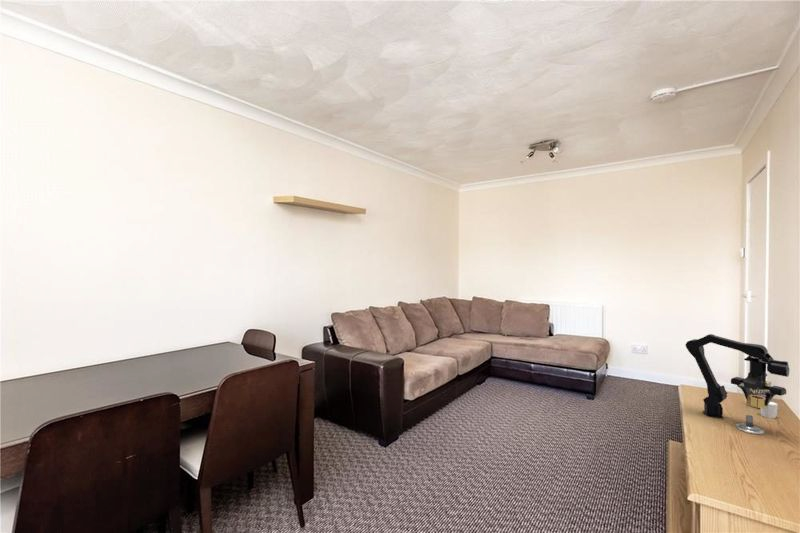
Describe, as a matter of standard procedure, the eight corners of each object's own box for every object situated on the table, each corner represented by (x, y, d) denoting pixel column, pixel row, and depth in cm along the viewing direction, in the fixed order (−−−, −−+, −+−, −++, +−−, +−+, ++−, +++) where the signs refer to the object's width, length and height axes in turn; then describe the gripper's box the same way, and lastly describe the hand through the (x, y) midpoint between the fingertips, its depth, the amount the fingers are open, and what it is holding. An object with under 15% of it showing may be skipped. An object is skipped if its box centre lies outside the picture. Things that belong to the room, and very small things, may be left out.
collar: (745, 404, 180) (745, 396, 180) (751, 402, 182) (752, 394, 182) (762, 409, 174) (762, 400, 174) (769, 406, 177) (769, 398, 176)
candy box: (746, 405, 205) (746, 378, 204) (749, 404, 207) (749, 376, 207) (767, 411, 197) (768, 382, 197) (771, 409, 199) (771, 381, 199)
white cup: (769, 413, 194) (769, 400, 194) (781, 419, 187) (782, 405, 187) (755, 412, 195) (755, 399, 195) (767, 418, 188) (767, 404, 188)
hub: (742, 432, 172) (742, 418, 172) (730, 423, 182) (730, 410, 182) (769, 435, 169) (769, 421, 169) (755, 426, 179) (755, 413, 179)
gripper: (725, 368, 183) (724, 399, 183) (775, 379, 166) (775, 413, 166) (736, 365, 188) (736, 395, 188) (787, 376, 171) (786, 409, 171)
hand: (757, 403), depth 178 cm, fingers closed on collar, 6 cm apart
